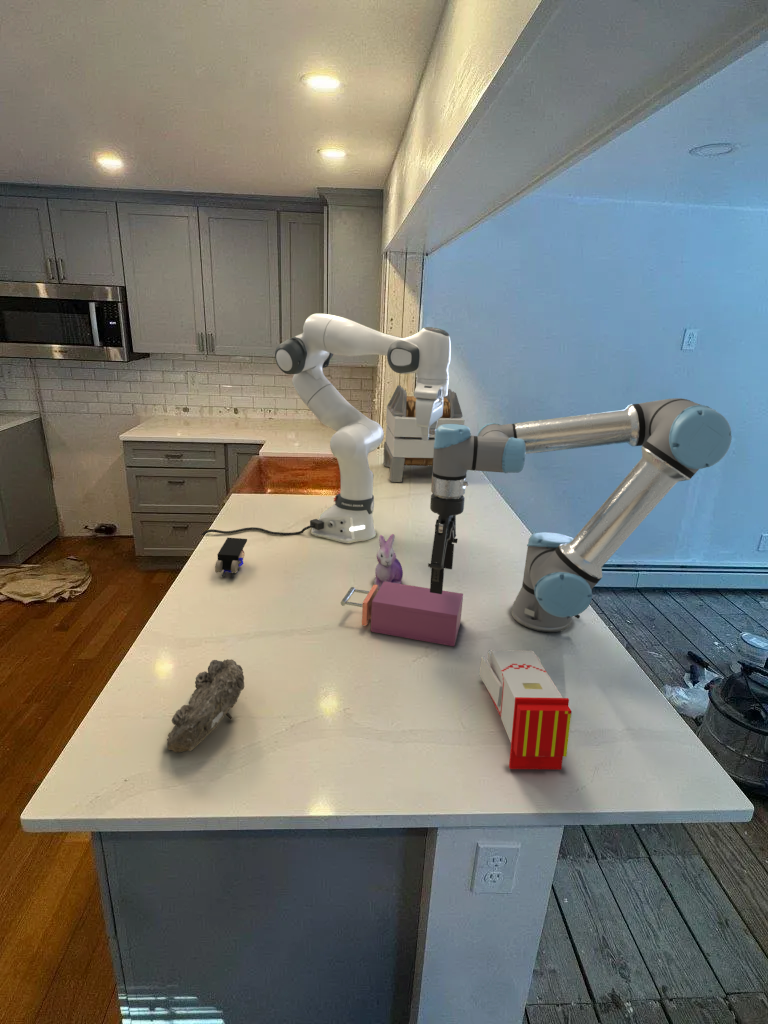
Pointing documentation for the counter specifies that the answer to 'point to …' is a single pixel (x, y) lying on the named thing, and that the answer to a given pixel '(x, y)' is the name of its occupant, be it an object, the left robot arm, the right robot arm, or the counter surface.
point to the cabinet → (417, 613)
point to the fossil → (206, 705)
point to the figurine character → (230, 556)
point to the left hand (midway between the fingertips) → (428, 437)
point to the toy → (528, 708)
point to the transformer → (412, 432)
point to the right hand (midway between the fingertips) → (441, 579)
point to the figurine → (387, 563)
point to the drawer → (366, 603)
